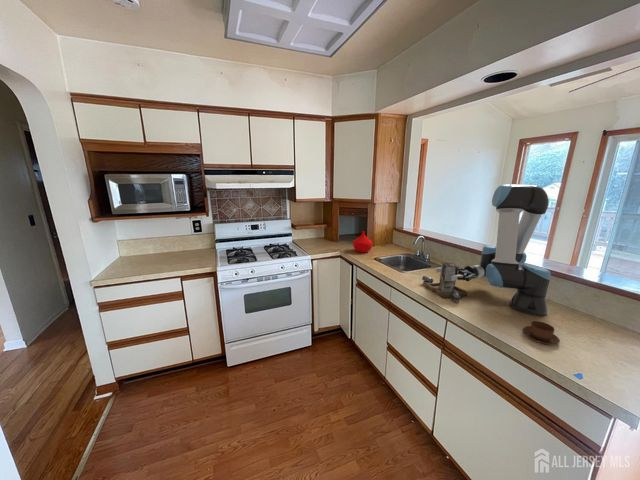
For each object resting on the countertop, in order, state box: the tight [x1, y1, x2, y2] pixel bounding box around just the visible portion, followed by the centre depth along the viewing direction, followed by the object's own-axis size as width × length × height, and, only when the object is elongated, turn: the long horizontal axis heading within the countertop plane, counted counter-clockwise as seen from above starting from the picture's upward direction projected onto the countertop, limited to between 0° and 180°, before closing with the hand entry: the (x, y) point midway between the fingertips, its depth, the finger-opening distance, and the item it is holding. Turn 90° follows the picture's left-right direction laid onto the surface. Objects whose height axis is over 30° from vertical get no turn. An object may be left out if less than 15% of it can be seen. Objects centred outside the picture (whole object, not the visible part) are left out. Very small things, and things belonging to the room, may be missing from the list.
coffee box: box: [438, 262, 459, 293], centre depth 149 cm, size 9×6×16 cm
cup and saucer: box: [522, 320, 561, 346], centre depth 106 cm, size 12×12×6 cm
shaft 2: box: [450, 291, 462, 304], centre depth 138 cm, size 6×3×5 cm, turn 174°
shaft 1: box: [421, 275, 434, 286], centre depth 160 cm, size 6×3×5 cm, turn 35°
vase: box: [352, 230, 374, 254], centre depth 234 cm, size 18×18×19 cm
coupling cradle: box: [425, 282, 469, 300], centre depth 151 cm, size 16×16×2 cm
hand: (443, 274), depth 147 cm, fingers open, 13 cm apart
